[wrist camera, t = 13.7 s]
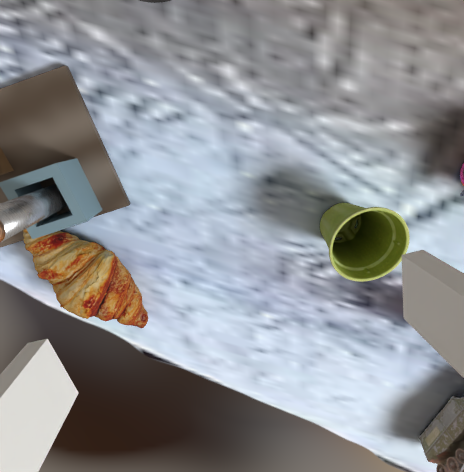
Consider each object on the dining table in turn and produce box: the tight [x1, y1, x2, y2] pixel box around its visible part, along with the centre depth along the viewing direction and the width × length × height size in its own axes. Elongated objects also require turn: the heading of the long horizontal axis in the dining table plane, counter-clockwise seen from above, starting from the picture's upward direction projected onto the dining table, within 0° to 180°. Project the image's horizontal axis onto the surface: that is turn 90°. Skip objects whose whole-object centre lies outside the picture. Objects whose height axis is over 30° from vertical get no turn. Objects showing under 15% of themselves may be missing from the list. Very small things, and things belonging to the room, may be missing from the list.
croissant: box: [23, 229, 148, 328], centre depth 40 cm, size 21×10×8 cm, turn 43°
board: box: [0, 66, 130, 247], centre depth 37 cm, size 17×20×1 cm
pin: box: [0, 184, 68, 243], centre depth 31 cm, size 3×3×15 cm
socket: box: [0, 158, 102, 239], centre depth 35 cm, size 7×7×5 cm
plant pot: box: [320, 203, 409, 281], centre depth 38 cm, size 9×9×9 cm
